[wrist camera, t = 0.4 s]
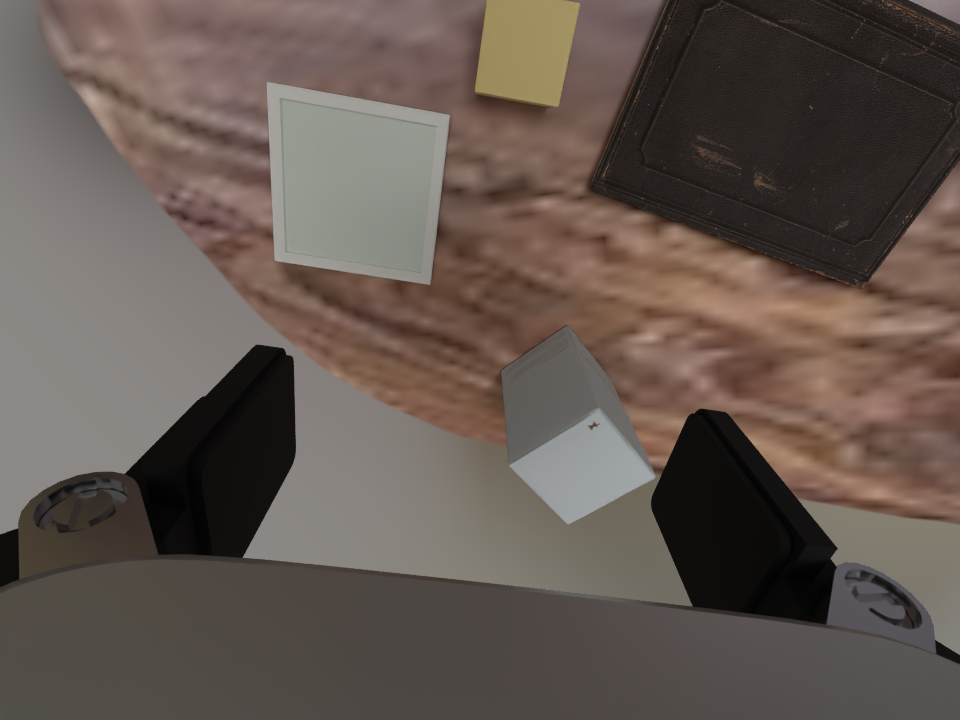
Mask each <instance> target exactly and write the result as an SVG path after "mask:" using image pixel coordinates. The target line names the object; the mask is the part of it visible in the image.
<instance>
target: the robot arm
mask: <svg viewBox="0 0 960 720" xmlns="http://www.w3.org/2000/svg"><path fill="white" fill-rule="evenodd" d="M294 398H295V397H294V361H293V357H292V356H289V355H286V352H285V350H284V349H283V348H278V347H270V346H264V345H255V347H253V348H252V349H251V350H250V351H249V352H248V353H247V354H246V355H245V356H244V357H243V358H242V359H241V360H240V361H239V362H238V363H237V364H236V365H235V367H233V369H232V370H231V371H230V372H229V373H228V374H227V375H226V376H225V377H224V378H223V379H222V380H221V381H220V382H219V383H218V384H217V385H216V386H215V387H214V388H213V389H212V390H211V391H210V392H209V393H208V394H207V395H206V396H204V397H202V398H200V399H199V400H197V402H195V404H193V405H192V407H191V408H189V410H188V411H187V412H186V413H185V414H184V415H183V416H182V417H181V418H180V419H179V420H178V421H177V422H176V423H175V424H174V425H173V426H172V427H171V428H170V429H169V430H168V431H167V432H166V433H165V434H164V435H163V436H162V437H161V438H160V439H159V440H158V441H157V442H156V443H155V444H154V445H153V446H152V447H151V448H150V449H149V450H148V451H147V452H146V453H145V454H144V455H143V456H142V457H141V458H140V459H139V460H138V461H137V462H136V463H135V464H134V465H133V466H132V467H131V468H130V469H129V470H128V471H127V472H126V473H125V474H121V473H116V472H93V473H88V474H82V475H77V476H75V477H72V478H69V479H66V480H63V481H60V482H58V483H56V484H54V485H52V486H51V487H49V488H47V489H45V490H43V491H42V492H41V493H39V494H38V495H37V496H35V497H34V498H33V499H31V500H30V501H29V503H28V504H27V505H26V506H25V508H24V509H23V510H22V512H21V515H20V518H19V522H18V529H15V530H12V531H9V532H6V533H4V534H0V720H960V655H959V654H957V653H955V652H954V651H952V650H951V649H949V648H947V647H945V646H944V645H942V644H941V643H939V642H937V641H936V640H935V635H934V626H933V623H932V620H931V617H930V615H929V613H928V612H927V611H926V609H925V608H924V606H923V605H922V604H921V603H920V602H919V601H918V600H917V599H916V598H915V596H914V595H913V594H912V593H911V592H909V591H908V590H907V589H905V588H904V587H903V586H902V585H901V584H899V583H898V582H896V581H895V580H893V579H892V578H890V577H888V576H886V575H885V574H883V573H882V572H879V571H877V570H875V569H873V568H871V567H869V566H865V565H862V564H858V563H848V562H845V563H843V564H840V565H838V566H837V567H836V565H835V564H834V563H833V562H832V560H831V559H830V558H831V557H832V555H833V554H834V553H835V551H836V550H837V549H838V548H837V547H836V546H835V545H834V543H833V542H832V541H831V540H830V539H829V537H828V536H827V535H826V534H825V533H824V531H823V530H822V529H821V527H819V525H818V524H817V523H816V521H815V520H814V519H813V518H812V516H811V515H810V514H809V513H808V512H807V511H806V509H805V508H804V507H803V505H802V504H801V503H800V502H799V500H798V499H797V498H796V497H795V496H794V494H793V493H792V492H791V491H790V489H789V488H788V487H787V486H786V485H785V483H784V482H783V481H782V480H781V478H780V477H779V476H778V475H777V473H776V472H775V471H774V470H773V469H772V467H771V466H770V465H769V464H768V462H767V461H766V460H765V459H764V458H763V456H762V455H761V454H760V453H759V451H758V450H757V449H756V448H755V446H754V445H753V444H752V443H751V442H750V440H749V439H748V438H747V437H746V435H745V434H744V433H743V432H742V431H741V429H740V428H739V427H738V426H737V424H736V423H735V422H734V421H733V419H732V418H731V417H730V416H729V415H728V414H727V413H726V412H721V411H714V410H707V409H699V410H698V411H696V413H695V414H690V415H689V416H688V418H687V420H686V422H685V424H684V426H683V429H682V431H681V433H680V435H679V437H678V440H677V442H676V444H675V446H674V449H673V451H672V453H671V455H670V458H669V460H668V462H667V464H666V466H665V469H664V471H663V473H662V475H661V478H660V480H659V482H658V484H657V487H656V489H655V491H654V493H653V496H652V500H651V507H652V512H653V514H654V516H655V519H656V521H657V523H658V526H659V528H660V530H661V533H662V535H663V537H664V540H665V542H666V545H667V547H668V549H669V552H670V554H671V556H672V559H673V561H674V563H675V566H676V568H677V570H678V573H679V575H680V577H681V580H682V582H683V584H684V587H685V589H686V591H687V594H688V596H689V599H690V601H691V603H692V605H693V607H691V606H683V605H675V604H666V603H658V602H649V601H640V600H633V599H624V598H616V597H615V598H614V597H607V596H598V595H590V594H581V593H571V592H562V591H554V590H545V589H536V588H527V587H519V586H510V585H501V584H492V583H483V582H473V581H465V580H456V579H447V578H437V577H428V576H419V575H409V574H400V573H390V572H380V571H372V570H362V569H353V568H344V567H334V566H324V565H314V564H303V563H294V562H284V561H274V560H263V559H250V558H243V556H244V554H245V552H246V550H247V548H248V547H249V545H250V543H251V541H252V539H253V537H254V535H255V534H256V532H257V530H258V528H259V526H260V524H261V522H262V521H263V519H264V517H265V515H266V513H267V511H268V509H269V508H270V506H271V504H272V502H273V500H274V498H275V496H276V495H277V493H278V491H279V489H280V487H281V485H282V483H283V482H284V480H285V478H286V476H287V474H288V472H289V470H290V469H291V467H292V464H293V462H294V458H295V453H296V438H295V436H296V435H295V399H294Z"/></svg>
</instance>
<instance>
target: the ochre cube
mask: <svg viewBox="0 0 960 720" xmlns="http://www.w3.org/2000/svg"><path fill="white" fill-rule="evenodd" d="M579 7H580V3H576V2H571V1H566V0H487V4H486V12H485V19H484V26H483V34H482V41H481V49H480V56H479V63H478V71H477V78H476V85H475V94H478V95H483V96H489V97H494V98H499V99H505V100H510V101H516V102H521V103H526V104H532V105H537V106H543V107H548V108H549V107H559V102H560V97H561V92H562V88H563V83H564V78H565V74H566V69H567V64H568V59H569V55H570V50H571V45H572V40H573V36H574V31H575V26H576V21H577V17H578V12H579Z"/></svg>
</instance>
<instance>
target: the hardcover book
mask: <svg viewBox="0 0 960 720" xmlns="http://www.w3.org/2000/svg"><path fill="white" fill-rule="evenodd" d="M959 160H960V25H959V24H957V23H955V22H953V21H951V20H948V19H946V18H944V17H942V16H940V15H938V14H936V13H934V12H932V11H930V10H928V9H926V8H924V7H922V6H919V5H917V4H915V3H913V2H911V1H909V0H668V1H667V3H666V5H665V8H664V10H663V13H662V15H661V17H660V20H659V22H658V24H657V27H656V29H655V32H654V34H653V36H652V39H651V41H650V43H649V46H648V48H647V51H646V53H645V55H644V58H643V60H642V62H641V65H640V67H639V70H638V72H637V74H636V77H635V79H634V81H633V84H632V86H631V89H630V91H629V93H628V96H627V98H626V101H625V103H624V105H623V108H622V110H621V112H620V115H619V117H618V120H617V122H616V124H615V127H614V129H613V132H612V134H611V136H610V139H609V141H608V143H607V146H606V148H605V151H604V153H603V155H602V158H601V160H600V163H599V165H598V167H597V170H596V172H595V174H594V177H593V179H592V182H591V183H592V184H591V186H590V189H589V190H592V191H594V192H597V193H600V194H602V195H605V196H608V197H611V198H613V199H616V200H619V201H622V202H624V203H627V204H630V205H633V206H635V207H638V208H641V209H643V210H646V211H649V212H652V213H654V214H657V215H660V216H663V217H665V218H668V219H671V220H673V221H676V222H679V223H682V224H684V225H687V226H690V227H693V228H695V229H698V230H701V231H704V232H706V233H709V234H712V235H714V236H717V237H720V238H723V239H725V240H728V241H731V242H734V243H736V244H739V245H742V246H745V247H747V248H750V249H753V250H755V251H758V252H761V253H764V254H766V255H769V256H772V257H775V258H777V259H780V260H783V261H786V262H788V263H791V264H794V265H796V266H799V267H802V268H805V269H807V270H810V271H813V272H816V273H818V274H821V275H824V276H826V277H829V278H832V279H835V280H837V281H840V282H843V283H846V284H848V285H851V286H854V287H857V288H859V289H863V287H864V286H865V285H866V283H867V282H868V281H869V279H870V278H871V277H872V275H873V274H874V273H875V272H876V270H877V269H878V268H879V266H880V265H881V264H882V262H883V261H884V260H885V258H886V257H887V256H888V254H889V253H890V252H891V250H892V249H893V248H894V246H895V245H896V244H897V242H898V241H899V240H900V238H901V237H902V236H903V234H904V233H905V232H906V230H907V229H908V228H909V226H910V225H911V224H912V222H913V221H914V220H915V219H916V217H917V216H918V215H919V213H920V212H921V211H922V209H923V208H924V207H925V205H926V204H927V203H928V201H929V200H930V199H931V197H932V196H933V195H934V193H935V192H936V191H937V189H938V188H939V187H940V185H941V184H942V183H943V181H944V180H945V179H946V177H947V176H948V175H949V173H950V172H951V171H952V169H953V168H954V167H955V165H956V164H957V163H958V162H959Z"/></svg>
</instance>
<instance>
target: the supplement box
mask: <svg viewBox="0 0 960 720" xmlns="http://www.w3.org/2000/svg"><path fill="white" fill-rule="evenodd" d="M501 377H502V390H503V401H504V413H505V425H506V436H507V449H508V461H509V467H510V468H511V469H512V470H513V471H514V472H515V473H516V474H517V475H518V476H519V477H520V478H521V479H522V480H523V481H524V482H525V483H526V484H527V485H528V486H529V487H530V488H532V490H533V491H534V492H535V493H536V494H537V495H538V496H539V497H540V498H541V499H542V500H544V502H545V503H546V504H547V505H548V506H549V507H551V508H552V510H554V511H555V512H556V513H557V514H558V515H559V516H560V517H561V518H562V519H563V520H564V521H565V523H566V524H570V523H572V522H574V521H576V520H578V519H580V518H582V517H583V516H585V515H587V514H589V513H591V512H593V511H595V510H597V509H598V508H600V507H602V506H604V505H606V504H608V503H609V502H611V501H613V500H615V499H616V498H619V497H620V496H622V495H624V494H626V493H628V492H629V491H631V490H634V489H635V488H637V487H639V486H641V485H643V484H645V483H647V482H649V481H651V480H653V479H655V477H656V476H655V473H654V471H653V469H652V466H651V464H650V462H649V460H648V457H647V455H646V453H645V451H644V449H643V447H642V445H641V443H640V441H639V439H638V437H637V434H636V432H635V430H634V428H633V426H632V424H631V422H630V420H629V418H628V416H627V414H626V412H625V410H624V407H623V405H622V403H621V401H620V399H619V397H618V395H617V392H616V390H615V388H614V386H613V384H612V382H611V380H610V378H609V377H608V376H607V374H606V373H605V372H604V370H603V369H602V368H601V366H600V365H599V364H598V363H597V361H596V360H595V359H594V357H593V356H592V355H591V354H590V352H589V351H588V350H587V349H586V347H585V346H584V345H583V344H582V342H581V341H580V340H579V338H578V337H577V336H576V335H575V333H574V332H573V331H572V330H571V328H570V327H569V326H565V327H564V328H562V329H561V330H559V331H558V332H556V333H555V334H554V335H552V336H551V337H549V338H548V339H546V340H545V341H543V342H542V343H540V344H539V345H537V346H536V347H534V348H533V349H531V350H530V351H529V352H527V353H526V354H524V355H523V356H521V357H520V358H518V359H517V360H516V361H514V362H513V363H511V364H510V365H508V366H507V367H506V368H504V369H503V370H502V371H501Z"/></svg>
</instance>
